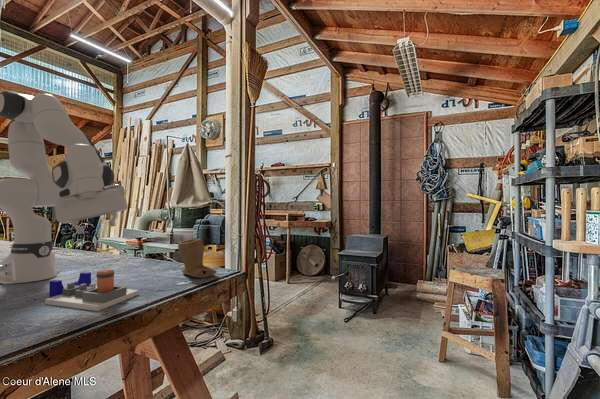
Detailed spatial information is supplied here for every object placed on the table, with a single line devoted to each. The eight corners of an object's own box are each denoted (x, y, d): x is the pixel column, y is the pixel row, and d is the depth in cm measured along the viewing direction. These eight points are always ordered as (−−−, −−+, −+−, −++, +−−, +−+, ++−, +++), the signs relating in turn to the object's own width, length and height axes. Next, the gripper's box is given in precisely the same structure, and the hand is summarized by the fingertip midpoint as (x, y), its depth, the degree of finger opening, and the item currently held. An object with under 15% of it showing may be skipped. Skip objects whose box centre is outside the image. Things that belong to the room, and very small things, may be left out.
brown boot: (173, 274, 129) (173, 238, 128) (201, 269, 137) (201, 235, 136) (188, 281, 117) (188, 242, 117) (217, 276, 125) (217, 239, 125)
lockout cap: (93, 298, 94) (93, 271, 94) (109, 294, 98) (109, 268, 98) (101, 300, 91) (101, 273, 91) (117, 296, 95) (117, 270, 95)
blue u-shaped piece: (80, 288, 109) (80, 271, 109) (91, 289, 108) (91, 272, 108) (45, 299, 97) (45, 280, 97) (57, 300, 96) (57, 281, 96)
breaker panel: (45, 304, 93) (45, 287, 93) (91, 289, 107) (91, 275, 107) (97, 311, 87) (97, 293, 87) (138, 294, 102) (138, 279, 102)
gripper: (125, 185, 109) (133, 223, 108) (60, 198, 104) (67, 238, 102) (119, 181, 103) (127, 220, 102) (49, 194, 98) (56, 237, 96)
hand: (96, 229), depth 102 cm, fingers open, 8 cm apart
